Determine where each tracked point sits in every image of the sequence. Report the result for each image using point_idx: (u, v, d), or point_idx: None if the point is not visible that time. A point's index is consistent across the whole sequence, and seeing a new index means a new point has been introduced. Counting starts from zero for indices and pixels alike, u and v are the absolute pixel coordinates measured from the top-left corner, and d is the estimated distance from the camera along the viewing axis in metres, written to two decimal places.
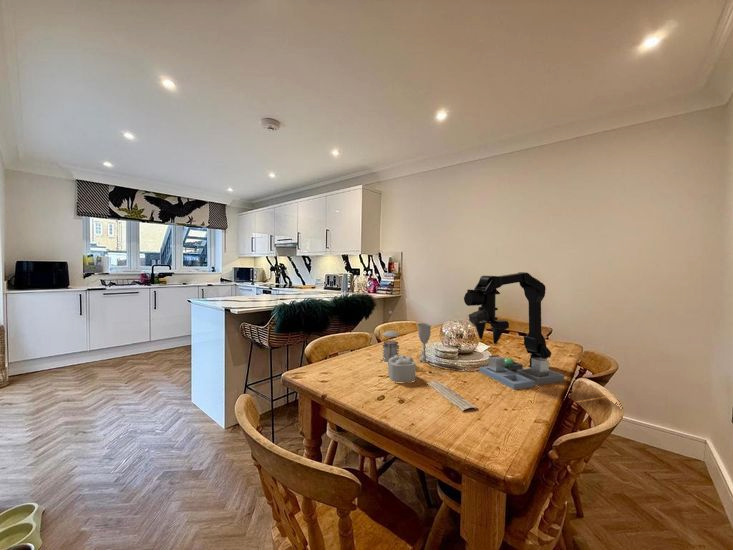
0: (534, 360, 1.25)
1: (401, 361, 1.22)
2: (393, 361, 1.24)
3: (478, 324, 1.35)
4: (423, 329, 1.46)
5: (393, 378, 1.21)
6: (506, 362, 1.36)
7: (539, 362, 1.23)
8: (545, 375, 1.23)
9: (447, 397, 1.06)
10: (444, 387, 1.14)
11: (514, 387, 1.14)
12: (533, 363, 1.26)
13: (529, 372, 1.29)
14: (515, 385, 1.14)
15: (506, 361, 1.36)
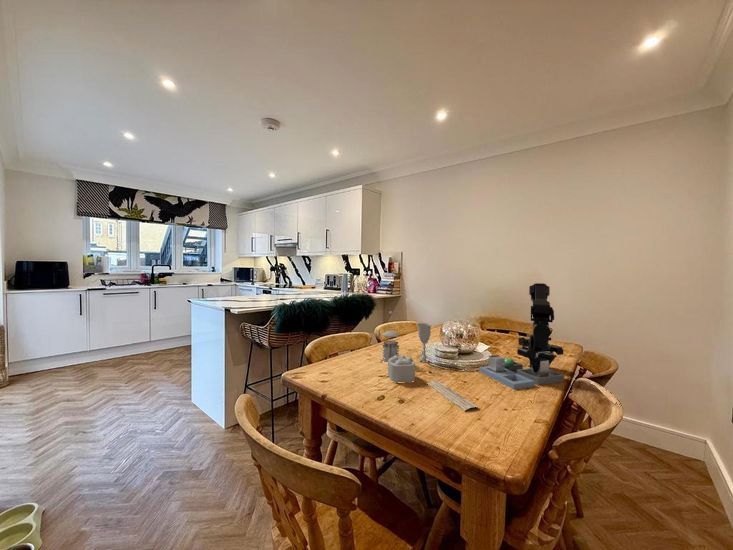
0: None
1: (401, 361, 1.22)
2: (393, 361, 1.24)
3: (543, 355, 1.27)
4: (423, 329, 1.46)
5: (393, 378, 1.21)
6: (506, 362, 1.36)
7: None
8: (545, 375, 1.23)
9: (448, 397, 1.06)
10: (444, 387, 1.14)
11: (514, 387, 1.14)
12: None
13: (529, 372, 1.29)
14: (515, 385, 1.14)
15: (506, 361, 1.36)
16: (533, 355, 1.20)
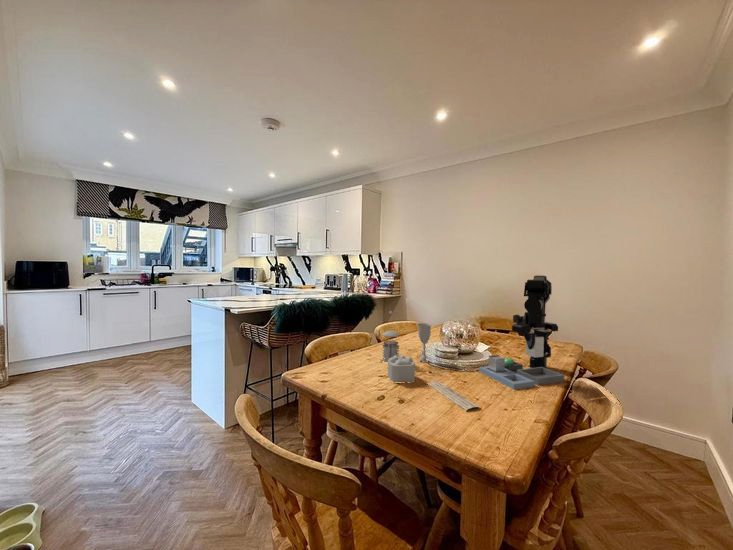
0: None
1: (401, 361, 1.22)
2: (393, 361, 1.24)
3: (538, 332, 1.25)
4: (423, 329, 1.46)
5: (393, 378, 1.21)
6: (506, 362, 1.36)
7: (534, 338, 1.21)
8: (540, 352, 1.21)
9: (449, 397, 1.06)
10: (445, 387, 1.14)
11: (514, 387, 1.14)
12: None
13: (529, 372, 1.29)
14: (515, 385, 1.14)
15: (506, 361, 1.36)
16: (528, 331, 1.18)
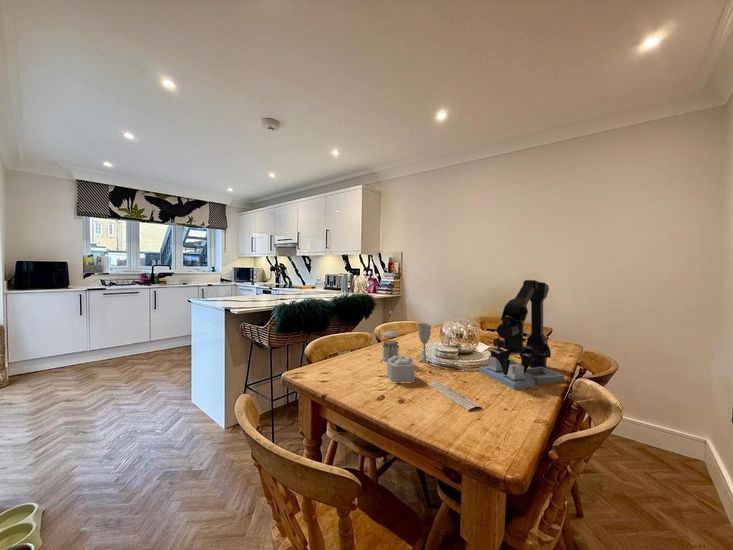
0: None
1: (400, 361, 1.22)
2: (392, 361, 1.24)
3: (522, 356, 1.22)
4: (423, 329, 1.46)
5: (392, 379, 1.21)
6: None
7: (513, 367, 1.18)
8: None
9: (450, 397, 1.06)
10: (445, 387, 1.14)
11: (514, 387, 1.14)
12: None
13: (529, 372, 1.29)
14: (515, 385, 1.14)
15: None
16: (506, 357, 1.15)
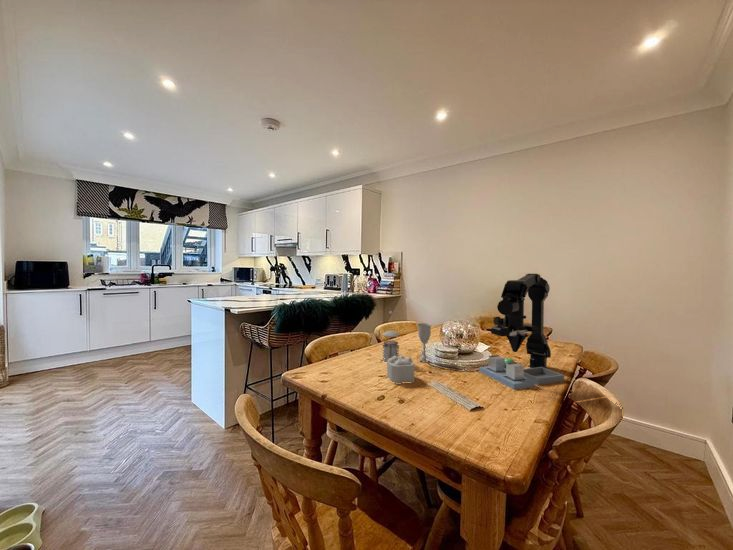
0: (508, 365, 1.20)
1: (400, 362, 1.22)
2: (392, 362, 1.24)
3: None
4: (423, 329, 1.46)
5: (392, 379, 1.21)
6: (506, 362, 1.36)
7: (513, 367, 1.18)
8: None
9: (451, 397, 1.06)
10: (445, 387, 1.15)
11: (514, 387, 1.14)
12: (508, 368, 1.20)
13: (529, 372, 1.29)
14: (515, 385, 1.14)
15: (506, 361, 1.36)
16: (506, 333, 1.15)
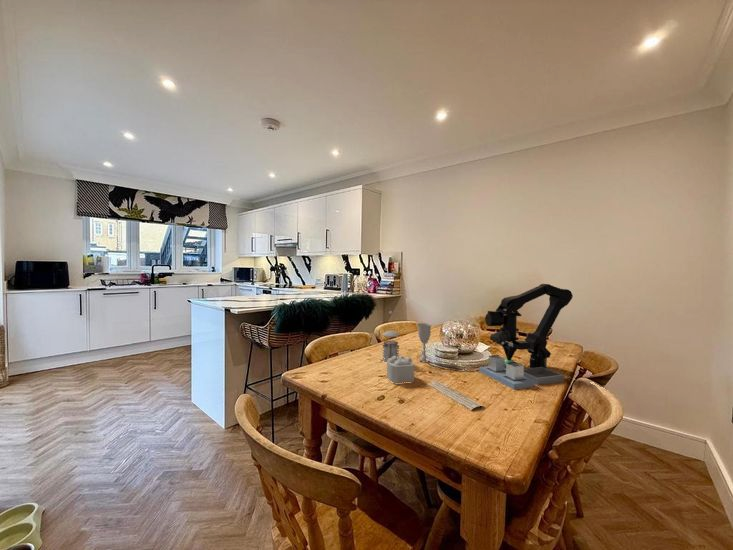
0: (508, 365, 1.20)
1: (400, 362, 1.22)
2: (392, 362, 1.24)
3: (506, 346, 1.38)
4: (423, 329, 1.46)
5: (392, 379, 1.21)
6: (506, 362, 1.36)
7: (513, 367, 1.18)
8: None
9: (452, 397, 1.07)
10: (446, 387, 1.15)
11: (514, 387, 1.14)
12: (508, 368, 1.20)
13: (529, 372, 1.29)
14: (515, 385, 1.14)
15: (506, 361, 1.36)
16: None
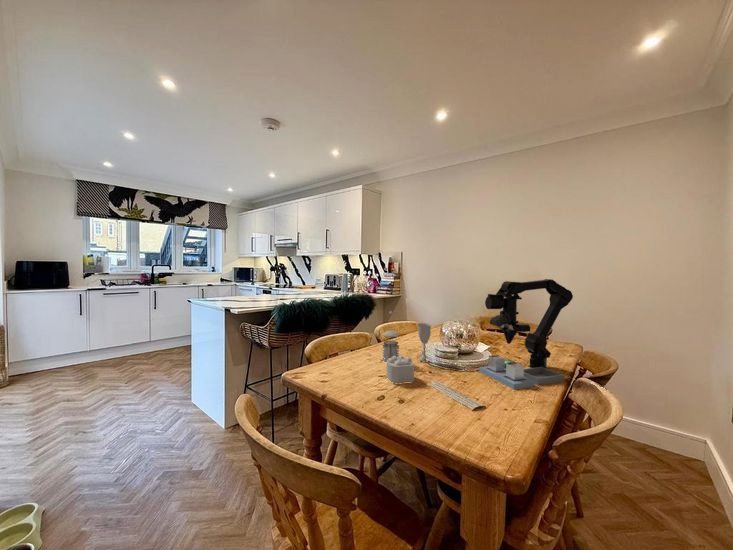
0: (508, 365, 1.20)
1: (400, 362, 1.21)
2: (392, 362, 1.23)
3: (506, 329, 1.38)
4: (423, 329, 1.46)
5: (392, 379, 1.20)
6: None
7: (513, 367, 1.18)
8: None
9: (452, 397, 1.07)
10: (446, 387, 1.15)
11: (514, 387, 1.14)
12: (508, 368, 1.20)
13: (529, 372, 1.29)
14: (515, 385, 1.14)
15: None
16: None
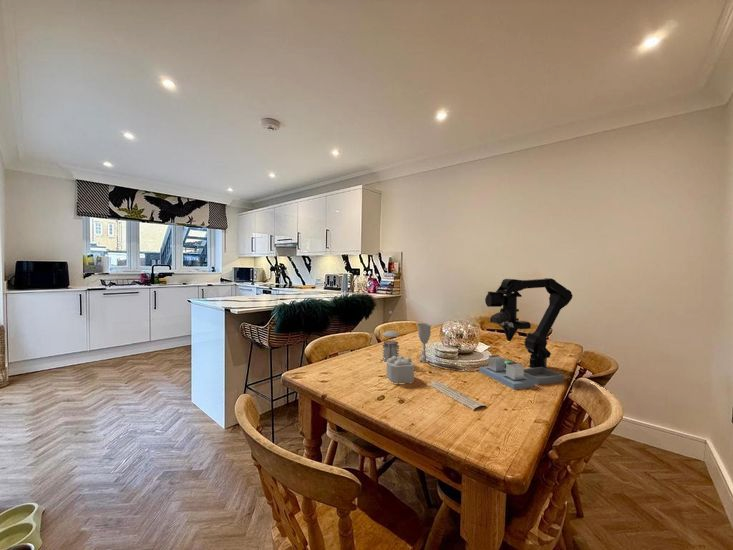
0: (508, 365, 1.20)
1: (400, 362, 1.21)
2: (392, 362, 1.23)
3: None
4: (423, 329, 1.46)
5: (392, 379, 1.20)
6: None
7: (513, 367, 1.18)
8: None
9: (453, 397, 1.07)
10: (446, 387, 1.15)
11: (514, 387, 1.14)
12: (508, 368, 1.20)
13: (529, 372, 1.29)
14: (515, 385, 1.14)
15: None
16: None
